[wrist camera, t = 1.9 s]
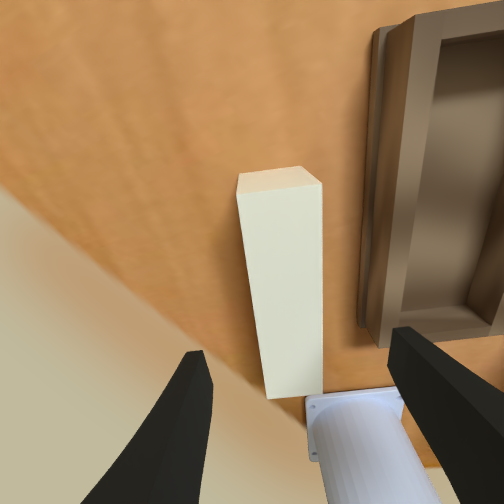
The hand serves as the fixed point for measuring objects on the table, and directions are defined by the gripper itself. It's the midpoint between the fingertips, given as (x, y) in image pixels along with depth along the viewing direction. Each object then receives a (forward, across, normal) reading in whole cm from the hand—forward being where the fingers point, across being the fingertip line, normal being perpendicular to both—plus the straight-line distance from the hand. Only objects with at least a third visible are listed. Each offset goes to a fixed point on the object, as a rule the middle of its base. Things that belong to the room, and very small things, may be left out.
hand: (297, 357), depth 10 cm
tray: (+7, -9, -3) cm, 12 cm away
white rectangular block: (+7, 0, 0) cm, 7 cm away
